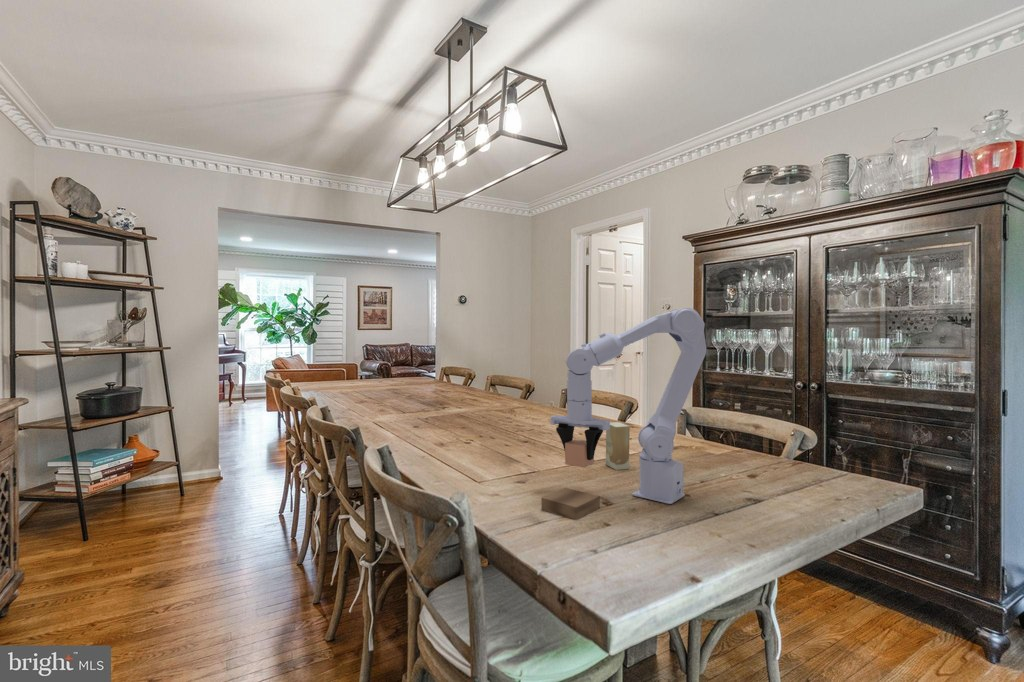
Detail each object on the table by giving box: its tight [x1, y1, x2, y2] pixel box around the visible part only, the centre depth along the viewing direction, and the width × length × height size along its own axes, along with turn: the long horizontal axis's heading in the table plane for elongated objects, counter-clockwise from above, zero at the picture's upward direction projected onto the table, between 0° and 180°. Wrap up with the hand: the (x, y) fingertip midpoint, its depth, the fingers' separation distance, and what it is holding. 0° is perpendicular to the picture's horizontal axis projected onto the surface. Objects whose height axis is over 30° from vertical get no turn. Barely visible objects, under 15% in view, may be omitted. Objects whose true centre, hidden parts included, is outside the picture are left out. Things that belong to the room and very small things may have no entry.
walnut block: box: [541, 487, 601, 521], centre depth 106 cm, size 9×9×3 cm
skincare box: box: [605, 421, 631, 471], centre depth 139 cm, size 6×4×12 cm
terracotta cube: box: [564, 439, 595, 468], centre depth 116 cm, size 5×5×5 cm
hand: (579, 457), depth 116 cm, fingers closed on terracotta cube, 5 cm apart
